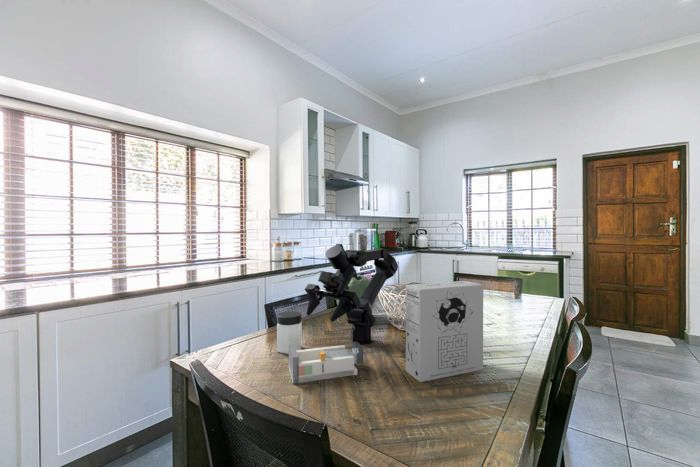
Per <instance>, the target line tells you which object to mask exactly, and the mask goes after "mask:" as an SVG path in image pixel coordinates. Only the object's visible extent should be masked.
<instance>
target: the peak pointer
mask: <svg viewBox="0 0 700 467" xmlns="http://www.w3.org/2000/svg"><path fill="white" fill-rule="evenodd" d="M319 358H320V360H321V361H324V360H325V353H324V351H320V352H319Z"/></svg>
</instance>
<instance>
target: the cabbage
mask: <svg viewBox="0 0 700 467" xmlns="http://www.w3.org/2000/svg"><path fill="white" fill-rule="evenodd" d="M371 280H372V278H371V277H367V276H364V275H362V274H357V278H352V279H351V281H350V283H349V285H348V286H349V290H348V291H354V292H356V294H357V296H358V298H360V297H361V296H362V294H363V293H364V291H365V289H366V288H367V286H368V285H369V283H370V282H371ZM335 301H336V305H337V306H338V304H339V300H335ZM375 302H376V299H375V300H374V302H373V304H372V309H373V308H374V305H375ZM343 316H344V317H345V318H346V319H347V315H346V313H345V314H344V315H343Z"/></svg>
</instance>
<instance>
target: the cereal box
mask: <svg viewBox="0 0 700 467" xmlns="http://www.w3.org/2000/svg"><path fill="white" fill-rule="evenodd" d="M482 370H484V285H483V284H481V283H478V282H474V281H467V280H461V281H460V280H458V281H457V280H456V281H446V282H445V281H444V282H432V283H431V282H430V283H418V284H417V283H416V284H407V285H406V286H405V372H407V374H409V375H410V376H412V377H413V378H414V379H415V380H416V381H418V382H420V383H423V382H429V381H434V380H438V379H444V378H447V377H448V378H449V377H453V376H458V375H463V374H468V373H473V372H478V371H482Z"/></svg>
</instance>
